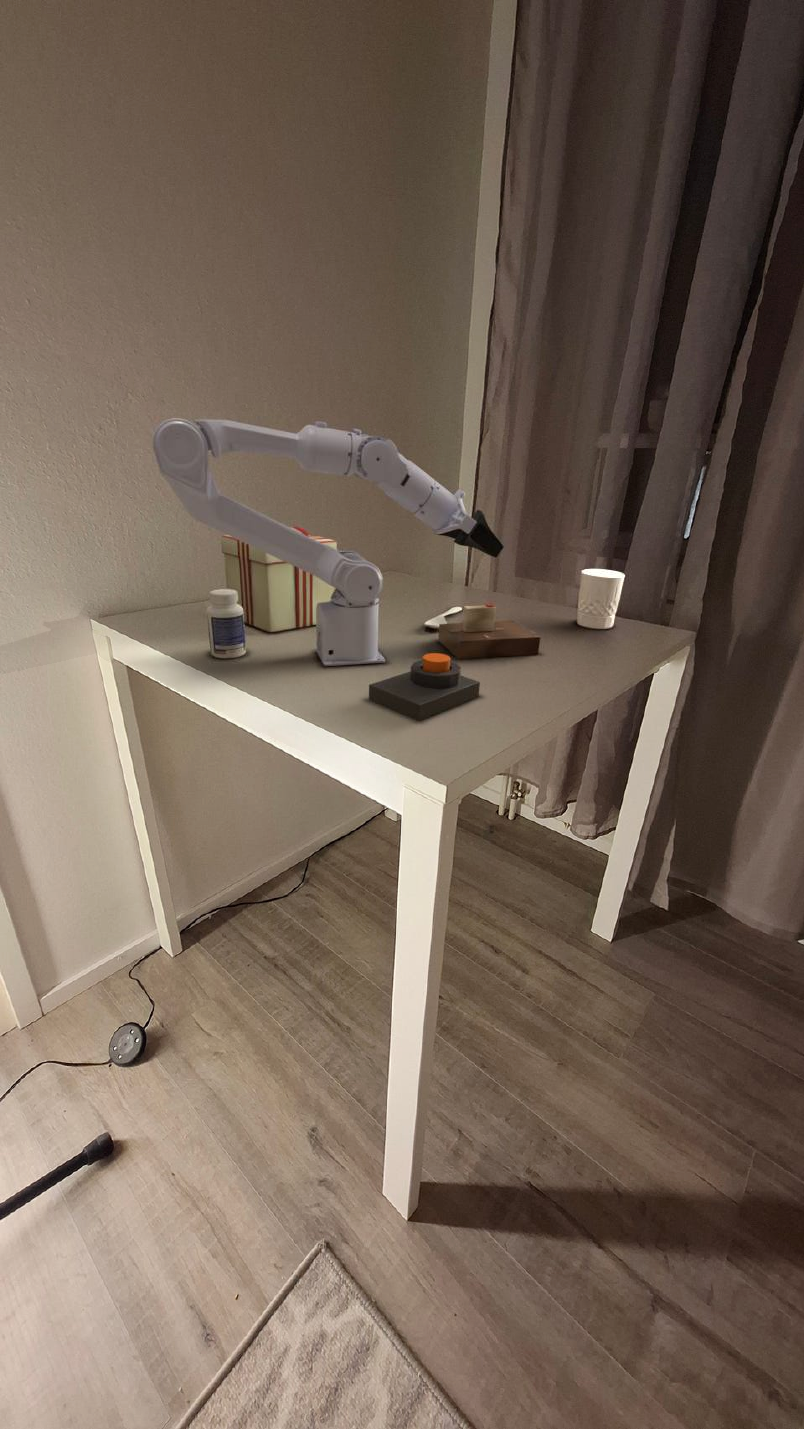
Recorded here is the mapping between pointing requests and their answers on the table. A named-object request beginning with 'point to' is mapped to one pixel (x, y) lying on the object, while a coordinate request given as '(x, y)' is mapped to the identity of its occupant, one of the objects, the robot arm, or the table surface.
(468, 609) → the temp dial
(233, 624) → the pill bottle
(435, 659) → the power button
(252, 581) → the gift box
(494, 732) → the table surface
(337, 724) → the table surface
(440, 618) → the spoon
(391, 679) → the button base
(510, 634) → the dial panel
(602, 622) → the white cup
